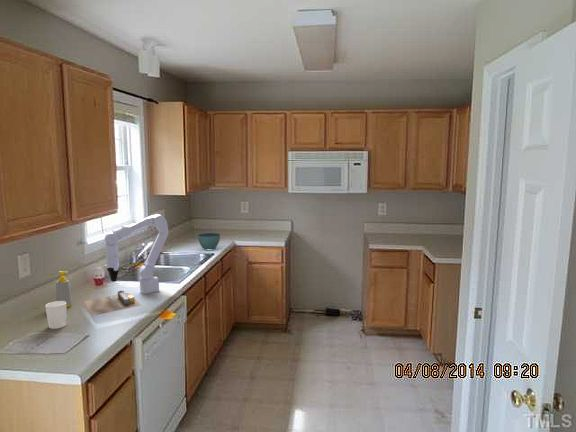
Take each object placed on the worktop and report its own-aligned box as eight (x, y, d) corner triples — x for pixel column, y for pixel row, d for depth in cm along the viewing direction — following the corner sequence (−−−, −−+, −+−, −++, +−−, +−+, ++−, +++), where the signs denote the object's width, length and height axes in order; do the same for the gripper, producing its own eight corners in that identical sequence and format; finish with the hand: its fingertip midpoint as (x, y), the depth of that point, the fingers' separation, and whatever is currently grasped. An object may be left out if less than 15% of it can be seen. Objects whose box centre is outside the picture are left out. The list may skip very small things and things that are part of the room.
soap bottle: (65, 309, 195) (62, 273, 193) (53, 308, 196) (50, 272, 194) (75, 304, 202) (73, 269, 200) (63, 303, 203) (61, 269, 201)
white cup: (71, 324, 176) (69, 303, 175) (52, 331, 169) (50, 308, 168) (62, 321, 180) (60, 299, 179) (43, 326, 174) (41, 304, 173)
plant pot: (213, 246, 345) (213, 232, 343) (224, 249, 331) (224, 234, 329) (194, 249, 333) (193, 234, 332) (204, 252, 319) (204, 237, 318)
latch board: (128, 295, 215) (128, 292, 215) (141, 308, 196) (141, 304, 196) (83, 304, 202) (82, 300, 202) (92, 318, 183) (92, 315, 183)
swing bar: (117, 296, 208) (116, 290, 207) (123, 295, 209) (123, 289, 209) (123, 305, 195) (123, 299, 194) (130, 303, 196) (130, 297, 196)
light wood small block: (132, 300, 203) (132, 294, 203) (134, 302, 200) (134, 297, 199) (127, 301, 201) (127, 295, 201) (129, 303, 198) (129, 298, 198)
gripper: (100, 254, 211) (102, 279, 212) (107, 259, 199) (109, 285, 201) (115, 252, 215) (116, 277, 217) (122, 257, 203) (123, 283, 205)
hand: (113, 281), depth 209 cm, fingers closed
